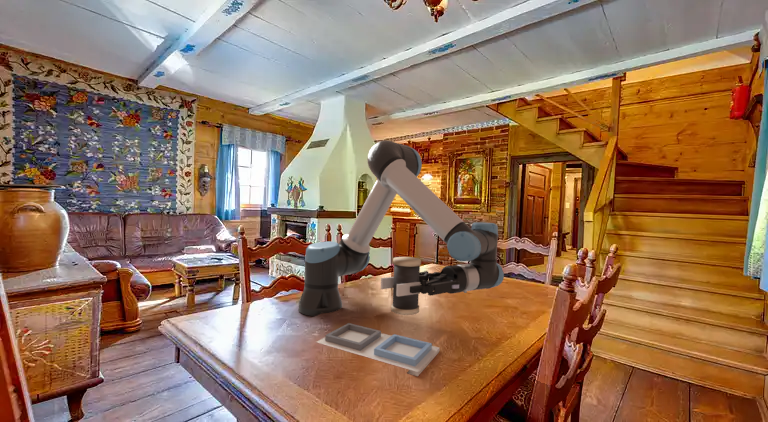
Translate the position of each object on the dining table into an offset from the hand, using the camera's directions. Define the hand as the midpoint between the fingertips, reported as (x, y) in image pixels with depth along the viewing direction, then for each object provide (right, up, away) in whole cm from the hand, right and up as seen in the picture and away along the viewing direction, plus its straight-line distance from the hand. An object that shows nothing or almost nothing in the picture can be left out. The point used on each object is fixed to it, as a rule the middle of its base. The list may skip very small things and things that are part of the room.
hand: (389, 286), depth 82 cm
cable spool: (+4, -7, +3) cm, 8 cm away
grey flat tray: (-3, -18, +7) cm, 19 cm away
